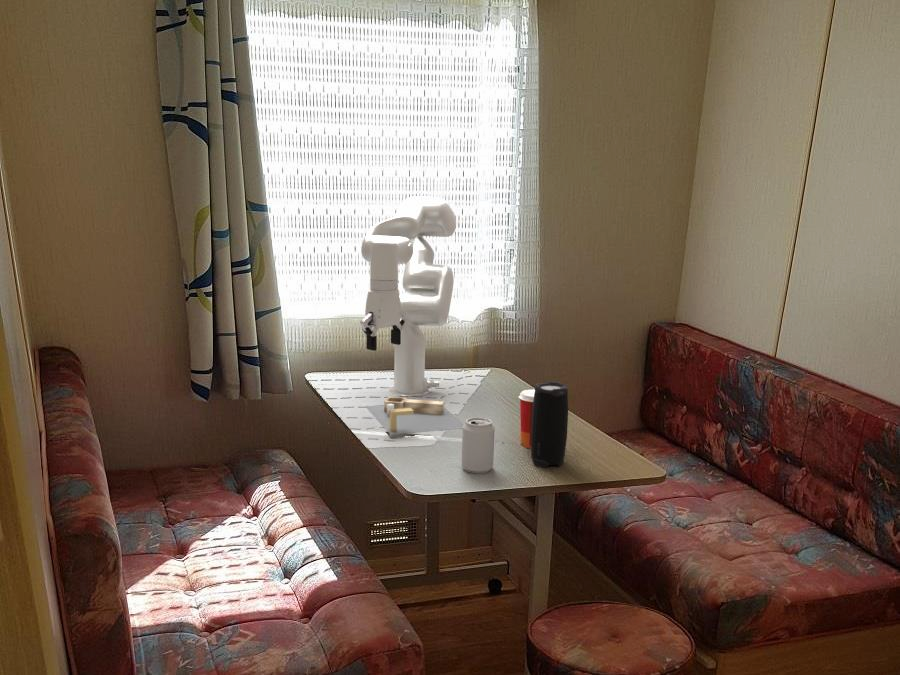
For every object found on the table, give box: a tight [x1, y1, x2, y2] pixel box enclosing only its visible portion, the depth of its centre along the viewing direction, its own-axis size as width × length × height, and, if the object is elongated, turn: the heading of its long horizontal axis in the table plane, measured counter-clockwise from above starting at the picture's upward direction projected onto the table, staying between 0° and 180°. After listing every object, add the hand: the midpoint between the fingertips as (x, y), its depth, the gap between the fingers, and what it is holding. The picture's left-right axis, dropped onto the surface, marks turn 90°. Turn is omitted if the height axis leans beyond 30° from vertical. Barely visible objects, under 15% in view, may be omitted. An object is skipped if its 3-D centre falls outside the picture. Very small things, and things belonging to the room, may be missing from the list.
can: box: [461, 417, 496, 474], centre depth 191 cm, size 8×8×12 cm
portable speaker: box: [530, 381, 569, 469], centre depth 196 cm, size 9×9×20 cm
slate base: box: [365, 404, 466, 439], centre depth 228 cm, size 22×27×6 cm
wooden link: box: [383, 396, 445, 415], centre depth 233 cm, size 17×5×3 cm, turn 80°
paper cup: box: [518, 389, 535, 449], centre depth 209 cm, size 8×8×14 cm
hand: (383, 346), depth 224 cm, fingers open, 9 cm apart
